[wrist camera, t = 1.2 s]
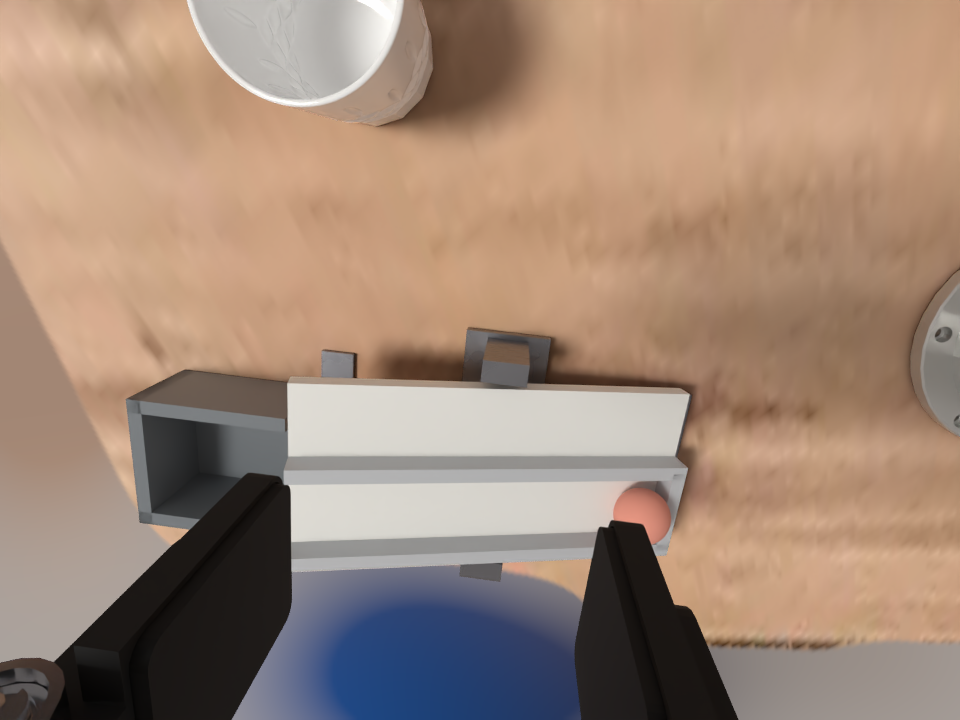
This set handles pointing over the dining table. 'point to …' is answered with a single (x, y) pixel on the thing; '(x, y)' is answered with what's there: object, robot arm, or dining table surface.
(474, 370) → the stand
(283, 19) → the white cup
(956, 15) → the dining table surface
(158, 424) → the grey open cubby box
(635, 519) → the ball
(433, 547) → the seesaw
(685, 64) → the dining table surface
